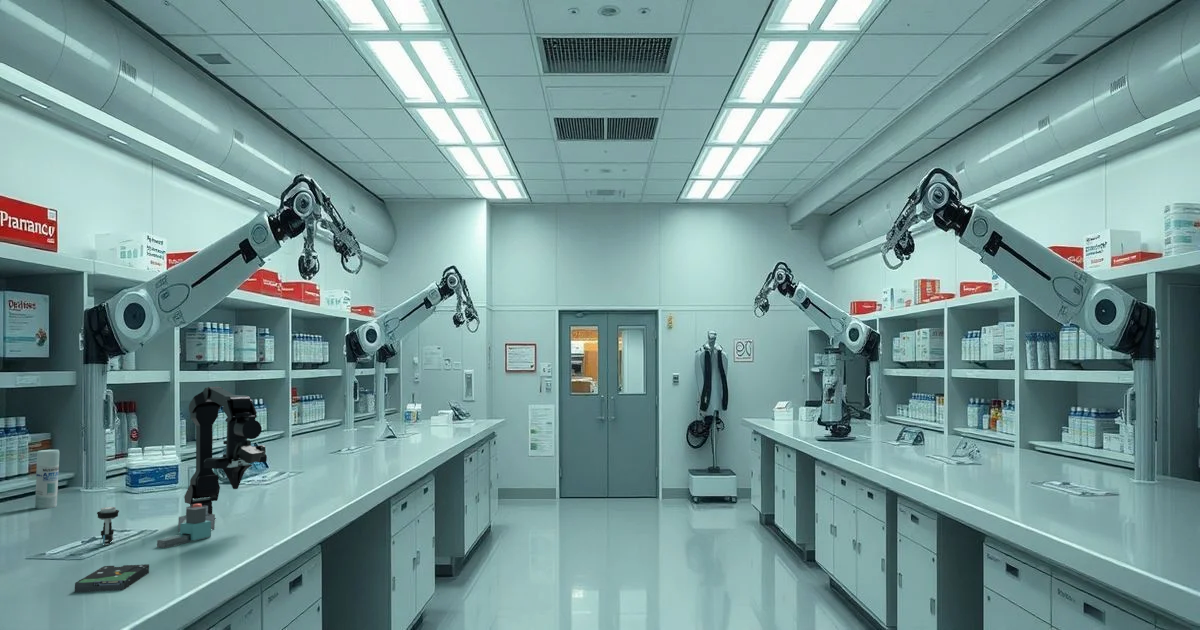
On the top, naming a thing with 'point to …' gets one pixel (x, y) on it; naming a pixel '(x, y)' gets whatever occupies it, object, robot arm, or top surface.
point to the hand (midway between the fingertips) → (235, 488)
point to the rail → (174, 540)
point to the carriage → (196, 524)
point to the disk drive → (111, 578)
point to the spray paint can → (47, 479)
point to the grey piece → (208, 518)
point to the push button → (107, 523)
